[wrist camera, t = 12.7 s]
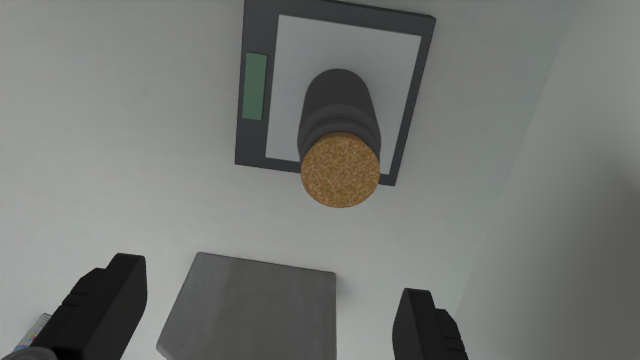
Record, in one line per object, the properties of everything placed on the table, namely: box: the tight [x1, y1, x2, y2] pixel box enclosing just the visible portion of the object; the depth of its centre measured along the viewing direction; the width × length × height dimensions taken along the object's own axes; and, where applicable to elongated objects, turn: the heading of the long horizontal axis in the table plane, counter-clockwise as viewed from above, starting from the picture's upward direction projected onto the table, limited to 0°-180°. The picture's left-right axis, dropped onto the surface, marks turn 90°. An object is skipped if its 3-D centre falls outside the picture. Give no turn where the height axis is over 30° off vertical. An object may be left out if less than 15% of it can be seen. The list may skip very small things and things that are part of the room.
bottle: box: [297, 68, 381, 208], centre depth 33 cm, size 6×6×15 cm
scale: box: [235, 0, 436, 186], centre depth 41 cm, size 16×16×3 cm
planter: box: [156, 253, 337, 360], centre depth 44 cm, size 16×8×19 cm, turn 80°
